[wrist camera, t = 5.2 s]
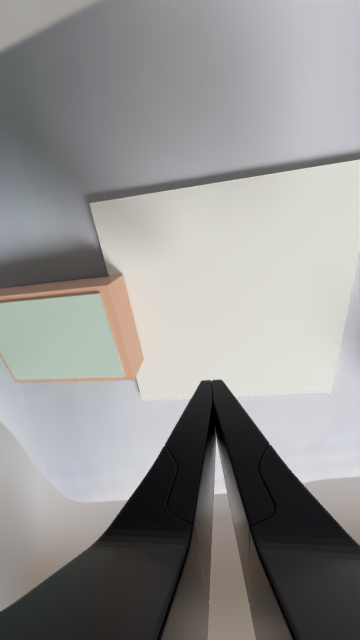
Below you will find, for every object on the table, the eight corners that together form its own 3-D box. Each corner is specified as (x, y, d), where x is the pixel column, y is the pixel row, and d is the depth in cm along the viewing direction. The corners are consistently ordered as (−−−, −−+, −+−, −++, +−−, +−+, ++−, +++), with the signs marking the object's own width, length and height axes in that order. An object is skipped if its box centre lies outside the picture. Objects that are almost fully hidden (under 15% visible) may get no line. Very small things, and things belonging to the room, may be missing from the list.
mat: (143, 396, 20) (142, 400, 20) (92, 203, 14) (89, 203, 13) (328, 388, 18) (331, 392, 18) (372, 158, 12) (378, 156, 11)
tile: (144, 359, 18) (37, 363, 20) (123, 274, 15) (0, 288, 17) (133, 381, 16) (13, 384, 17) (106, 286, 13) (-35, 300, 14)
